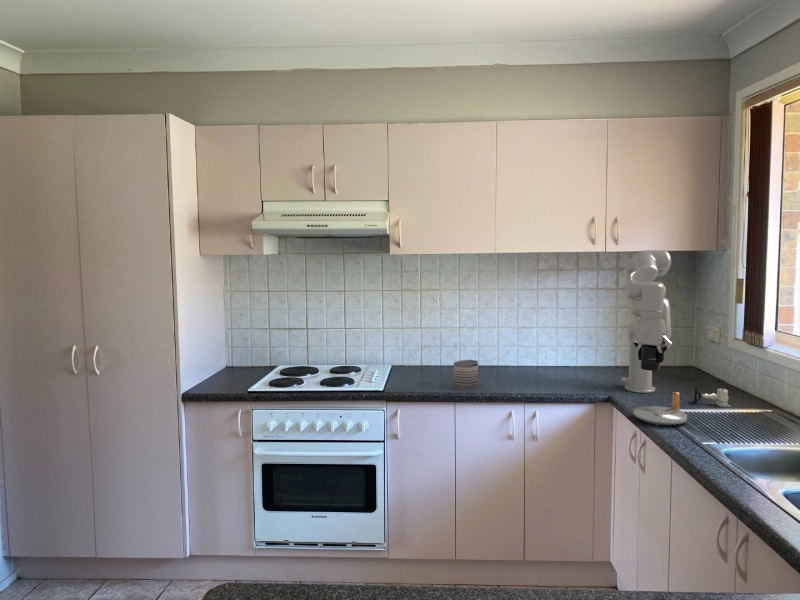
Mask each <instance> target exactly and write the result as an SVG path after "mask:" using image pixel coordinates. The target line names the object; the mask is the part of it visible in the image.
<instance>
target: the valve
mask: <svg viewBox="0 0 800 600" xmlns="http://www.w3.org/2000/svg"><path fill="white" fill-rule="evenodd" d="M728 394H729V390H728V389H726V388H717V389H716V393H714V392H713V393H710V394H709V393H704V394H703V393H702V392H701V391H699V389H698V387H697V386H694V394H693V395H694V396H693V398H694V399H693V403H695V404H697V403H698V401H701V399H702V398H704V399H707V400H708V399H710V400H711V401H716V405H717V406H718V407H723V408H726V407H728V405H729V404H728V403H729V402H728V401H729V395H728Z"/></svg>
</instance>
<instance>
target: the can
mask: <svg viewBox="0 0 800 600" xmlns="http://www.w3.org/2000/svg"><path fill="white" fill-rule="evenodd" d="M454 387H455V388H454ZM477 387H479V361H478V360H474V359H462V360H458V361H455V362H453V388H454V389H456V388H458V389H457V390H460V389H463V390H462V391H472V390H471V389H473V390H477V389H478V388H477ZM476 388H477V389H476ZM467 389H468V390H467Z"/></svg>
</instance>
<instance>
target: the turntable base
mask: <svg viewBox="0 0 800 600" xmlns="http://www.w3.org/2000/svg"><path fill="white" fill-rule="evenodd" d="M639 421H641V422H644V423H646V422H647V421H644V420H641V419H639ZM649 423H652V422H647V423H646V424H649ZM653 424H658V423H652V424H651V425H653ZM659 425H667V426H666V427H672V426H671V425H674V424H658V425H657V426H659Z"/></svg>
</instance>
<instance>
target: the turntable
mask: <svg viewBox="0 0 800 600" xmlns="http://www.w3.org/2000/svg"><path fill="white" fill-rule="evenodd" d="M680 395H681V393H680V392H679V391H672V403H671V406H672V407H666V406H658V405H645V406H644V405H643V406H638V407H636V408H634V409H633V416H634V417H635V418H636V419H638V420H640V419H641V420H644V421H647V422H652V423H658V424H679V425H682V424H684V423H687V421H688V414H687V413H685V412H684V411H682V410H681V409H680V408H681V407H680ZM641 420H640V421H641Z"/></svg>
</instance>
